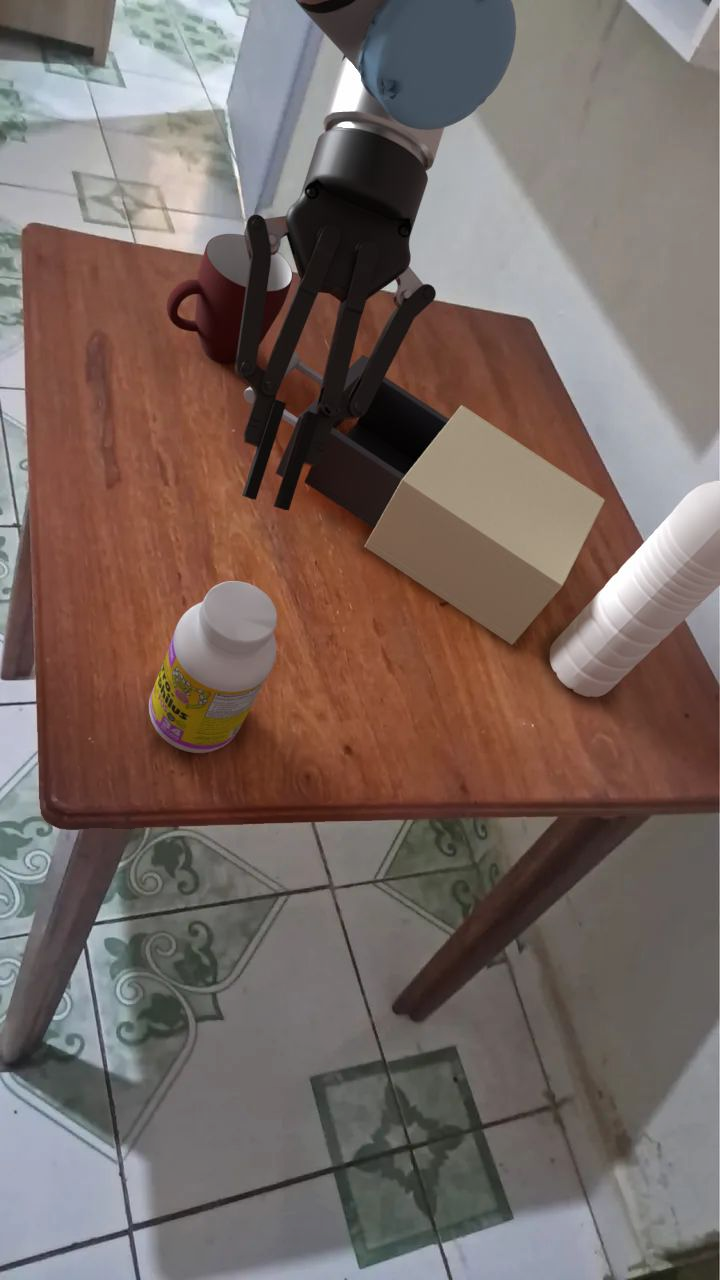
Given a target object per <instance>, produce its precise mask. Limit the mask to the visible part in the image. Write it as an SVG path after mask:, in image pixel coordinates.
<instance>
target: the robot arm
mask: <svg viewBox="0 0 720 1280" xmlns="http://www.w3.org/2000/svg"><path fill="white" fill-rule="evenodd" d="M295 2H296V4H297V5H298V6H299V7H300V8H301V9H302V10H303V12H304V13H305V14H306V16H308V17H309V18H310V19H311V20H312V21H313V23H314V24H315V25H316V26H317V27H318V28H319V29H320V30H321V31H322V32H323V33H324V35H325V36H326V37H327V38H328V39H329V40H330V41H331V42H332V43H333V45H335V47H336V48H337V49H338V50H339V51H340V52H341V53H342V54H343V57H342V60H341V63H340V66H339V70H338V73H337V76H336V79H335V83H334V86H333V89H332V93H331V95H330V98H329V102H328V105H327V109H326V112H325V115H324V118H323V122H322V124H323V130H324V132H323V133H321V134H320V135H319V136H318V138H317V141H316V144H315V148H314V150H313V153H312V156H311V159H310V163H309V166H308V170H307V173H306V177H305V180H304V182H303V185H302V189H301V192H300V195H299V197H298V199H296V201H295V202H294V203H293V204H292V205H291V206H290V207H289V208H288V210H287V212H286V214H285V215H282V216H275V217H274V216H273V217H267V218H265V217H264V216H262V215H260V214H252V215H251V216H249V217H248V218H247V221H246V225H245V229H244V232H243V233H244V234H243V235H244V237H245V242H246V247H247V252H248V257H249V262H250V264H249V271H248V278H247V285H246V292H245V299H244V306H243V314H242V321H241V328H240V335H239V342H238V349H237V356H236V363H235V364H234V374H235V376H236V378H238V380H241V381H242V382H244V383H245V384H246V385H247V386H248V387H251V388H252V390H253V391H254V395H255V398H254V402H253V404H252V405H251V409H250V412H249V415H248V419H247V422H246V425H245V428H244V432H243V443H244V444H247V445H250V446H253V447H256V450H255V452H254V456H253V459H252V463H251V466H250V469H249V472H248V475H247V478H246V482H245V485H244V487H243V490H242V495H241V496H242V497H244V498H248V499H251V500H257V498H258V495H259V491H260V488H261V485H262V483H263V478H264V477H265V472H266V469H267V466H268V463H269V460H270V456H271V454H272V451H273V447H274V443H275V441H276V437H277V434H278V431H279V428H280V424H281V421H282V420H283V419H282V415H283V412H284V409H285V408H286V406H287V402H286V401H282V400H280V399H277V395H278V392H279V390H280V388H281V386H282V384H283V383H282V382H283V380H284V379H285V378H284V376H285V373H286V371H287V368H288V366H289V363H290V361H291V358H292V356H293V353H294V352H296V348H297V345H298V343H299V341H300V339H301V336H302V333H303V331H304V329H305V326H306V323H307V321H308V319H309V317H310V314H311V311H312V309H313V306H314V303H315V301H316V299H317V296H318V295H319V293H321V294H329V295H331V296H332V297H334V298H335V299H337V300H338V301H339V303H338V307H337V308H338V309H337V314H336V321H335V325H334V330H333V334H332V338H331V343H330V347H329V350H328V355H327V360H326V364H325V368H324V371H323V375H322V376H323V380H322V384H321V385H320V388H319V393H318V398H317V399H318V402H317V406H316V412H315V413H313V412H310V411H307V412H306V413H304V414H303V415H302V418H301V421H300V425H299V428H298V431H297V434H296V437H295V440H294V444H293V447H292V450H291V453H290V456H289V459H288V462H287V466H286V469H285V472H284V475H283V478H282V477H281V478H282V479H281V482H280V485H279V488H278V491H277V494H276V497H275V501H274V504H273V507H274V508H278V509H280V510H283V511H289V510H290V507H291V505H292V502H293V499H294V495H295V493H296V489H297V486H298V484H299V479H300V477H301V474H302V470H303V467H304V465H308V466H310V467H311V466H313V467H315V466H317V465H318V464H319V463H320V462H321V460H322V458H323V455H324V452H325V449H326V445H327V442H328V439H329V436H330V433H331V430H332V427H333V424H334V423H335V421H337V420H339V419H345V420H351V421H353V420H356V419H357V420H358V419H359V417H362V416H363V415H365V414H366V412H367V410H368V408H369V406H370V404H371V402H372V401H373V399H374V397H375V395H376V393H377V391H378V389H379V387H380V385H381V383H382V381H383V379H384V377H386V375H387V373H388V371H389V369H390V367H391V364H392V363H393V361H394V360H395V357H396V356H397V354H398V352H399V349H400V347H401V345H402V343H403V342H404V339H405V337H406V336H407V333H408V332H409V330H410V328H411V326H412V324H413V321H415V320H414V319H415V318H416V317H417V316H418V315H419V314H420V313H422V312H423V311H424V310H425V309H426V308H427V307H428V306H429V305H430V304H431V303H433V301H434V300H435V299H436V295H437V293H436V289H435V287H434V286H433V285H432V284H429V283H423V282H422V280H421V279H420V278H419V276H417V274H416V273H415V272H414V270H413V269H412V268H411V267H410V264H411V259H412V256H411V254H412V253H411V250H410V238H411V235H412V231H413V229H414V226H415V222H416V219H417V215H418V214H419V210H420V207H421V203H422V200H423V197H424V195H425V192H426V188H427V185H428V182H429V177H428V173H427V171H429V170H430V169H431V168H432V167H433V165H434V162H435V159H436V156H437V153H438V150H439V147H440V143H441V141H442V138H443V133H444V130H445V128H446V127H450V126H452V125H455V124H457V123H459V122H461V121H463V120H465V119H466V118H467V117H469V116H470V115H472V114H473V113H474V112H475V111H476V110H477V109H478V108H479V106H481V105H483V104H484V103H485V102H486V100H487V99H488V98H489V97H490V96H491V95H492V94H493V93H494V92H495V90H496V89H497V87H498V86H499V84H500V83H501V82H502V80H503V79H504V76H505V74H506V72H507V70H508V68H509V66H510V63H511V60H512V57H513V53H514V51H515V50H514V49H515V43H516V34H517V21H516V12H515V8H514V3H513V1H512V0H295ZM284 237H286V238H287V242H288V245H289V248H290V252H291V255H292V258H293V261H294V265H295V268H296V271H297V274H298V276H299V278H300V280H299V282H298V285H297V287H296V290H295V292H294V295H293V298H292V300H291V303H290V306H289V308H288V311H287V313H286V316H285V318H284V320H283V323H282V325H281V328H280V330H279V333H278V335H277V338H276V340H275V342H274V345H273V348H272V351H271V353H270V355H269V357H268V361H267V363H266V366H265V368H264V369H263V368H262V367H261V366H260V365H258V364H257V363H258V356H259V349H260V345H259V342H260V335H261V328H262V321H263V314H264V307H265V300H266V293H267V286H268V279H269V272H270V265H271V256H272V255H275V254H276V253H277V252H279V249H280V248H281V243H282V242H281V240H282V239H283V238H284ZM394 281H396V284H397V288H396V291H395V292H394V294H393V296H392V297H393V299H392V300H393V303H394V305H395V307H396V308H395V309H394V310H393V312H392V313H391V314H390V316H389V318H388V320H387V321H386V323H385V325H384V327H383V329H382V331H381V333H380V334H379V337H378V338H377V341H376V343H375V345H374V347H373V349H372V351H371V353H370V354H369V356H368V358H369V359H368V361H367V363H366V364H365V366H364V368H363V370H362V372H361V374H360V376H359V378H358V380H357V382H356V384H355V386H354V388H353V390H352V392H351V394H350V396H349V398H348V399H342V395H343V391H344V387H345V382H346V378H347V374H348V370H349V368H350V367H351V365H350V364H351V361H352V357H353V352H354V348H355V343H356V341H357V335H358V331H359V328H360V323H361V319H362V315H363V313H364V310H365V307H366V302H367V301H368V300H369V299H370V298H372V297H373V296H375V295H376V294H378V293H379V292H380V291H381V290H383V289H384V288H386V287H387V286H388V285H390V284H392V282H394ZM283 378H284V379H283ZM285 410H286V409H285Z"/></svg>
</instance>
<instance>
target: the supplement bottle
mask: <svg viewBox="0 0 720 1280" xmlns="http://www.w3.org/2000/svg"><path fill="white" fill-rule="evenodd" d="M277 624H278V612H277V608H276V606H275V604H274V602H273V601H272V599H271V598H270V596H269V595H267V593H266V592H265V591H263V590H262V589H261V588H259V587H257V586H255V585H253V584H251V583H248V582H245V581H239V580H229V581H224V582H220V583H218V584H216V585H214V586H213V587H212V588H210V589H209V590H208V591H207V593H206V594H205V596H204V598H203V600H202V601H201V602H198V603H196V604H194V605H193V606H191V607H190V608H189V609H187V610H186V611H185V612H184V614H183V615H182V616H181V617H180V619H179V620H178V622H177V625H176V627H175V629H174V632H173V635H172V638H171V640H170V644H169V645H168V647H167V651H166V654H165V656H164V659H163V662H162V665H161V667H160V669H159V672H158V675H157V677H156V679H155V682H154V686H153V688H152V691H151V694H150V697H149V702H148V713H149V719H150V721H151V723H152V726H153V728H154V730H155V731H156V732H157V734H158V735H159V736H160V737H161V738H162V739H163V740H164V741H165V742H166V743H168V744H169V745H171V746H172V747H174V748H176V749H179V750H181V751H183V752H188V753H194V754H206V753H211V752H215V751H217V750H220V749H221V748H223V747H225V746H227V744H229V743H230V742H231V741H232V740H233V739H234V738H235V737H236V735H237V734H238V732H239V731H240V729H241V727H242V726H243V723H244V722H245V720H246V717H247V716H248V714H249V712H250V710H251V708H253V707H252V706H253V704H254V703H255V701H256V699H257V697H258V695H259V693H260V692H261V690H262V687H263V686H264V684H265V682H266V680H267V679H268V677H269V675H270V673H271V671H272V669H273V667H274V665H275V663H276V658H277V651H278V650H277V641H276V637H275V634H274V632H275V630H276V627H277Z"/></svg>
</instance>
